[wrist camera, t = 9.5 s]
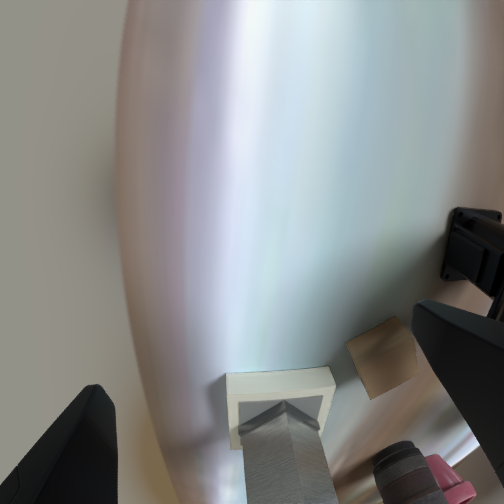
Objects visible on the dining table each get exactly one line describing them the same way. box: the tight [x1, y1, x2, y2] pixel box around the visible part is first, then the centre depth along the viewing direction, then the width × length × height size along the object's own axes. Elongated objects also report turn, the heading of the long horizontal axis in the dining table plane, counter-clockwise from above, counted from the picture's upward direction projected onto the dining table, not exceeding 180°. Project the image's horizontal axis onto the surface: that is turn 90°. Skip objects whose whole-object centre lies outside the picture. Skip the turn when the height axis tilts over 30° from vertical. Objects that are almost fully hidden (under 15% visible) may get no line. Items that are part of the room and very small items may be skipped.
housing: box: [238, 400, 338, 504], centre depth 19 cm, size 5×5×12 cm
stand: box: [226, 366, 336, 450], centre depth 26 cm, size 9×9×3 cm
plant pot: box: [425, 454, 476, 504], centre depth 34 cm, size 14×14×13 cm
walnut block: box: [345, 316, 419, 400], centre depth 24 cm, size 5×5×4 cm
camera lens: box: [373, 441, 448, 504], centre depth 28 cm, size 8×8×15 cm
